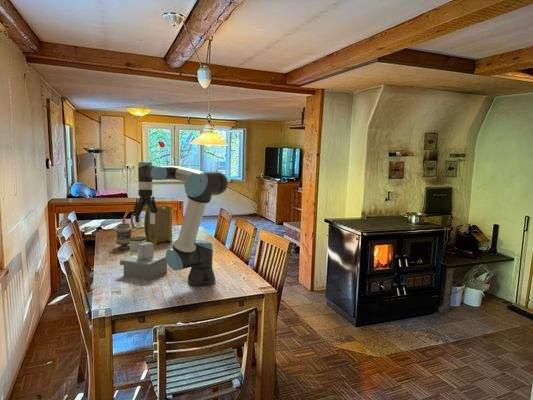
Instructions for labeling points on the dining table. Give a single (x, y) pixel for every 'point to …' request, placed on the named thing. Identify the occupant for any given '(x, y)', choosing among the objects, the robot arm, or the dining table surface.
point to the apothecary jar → (123, 235)
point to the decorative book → (159, 225)
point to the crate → (145, 270)
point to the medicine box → (145, 250)
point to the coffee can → (136, 244)
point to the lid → (148, 261)
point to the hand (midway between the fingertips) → (145, 225)
